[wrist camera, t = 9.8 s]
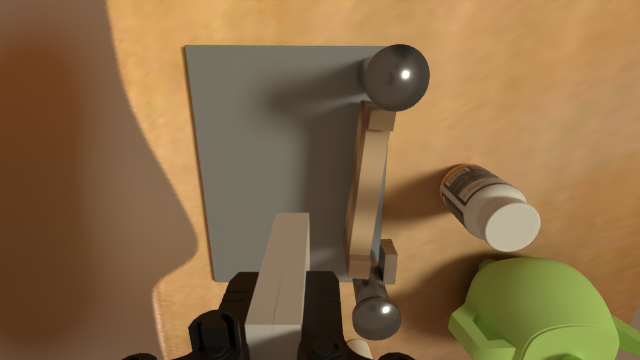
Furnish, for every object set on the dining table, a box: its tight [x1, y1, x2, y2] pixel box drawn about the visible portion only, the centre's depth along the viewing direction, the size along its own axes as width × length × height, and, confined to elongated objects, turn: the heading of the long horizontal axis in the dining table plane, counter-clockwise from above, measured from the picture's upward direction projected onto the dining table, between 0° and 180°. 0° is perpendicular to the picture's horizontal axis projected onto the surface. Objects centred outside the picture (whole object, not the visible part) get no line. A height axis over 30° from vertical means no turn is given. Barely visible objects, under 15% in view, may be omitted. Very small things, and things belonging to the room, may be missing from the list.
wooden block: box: [343, 100, 396, 279], centre depth 31 cm, size 16×2×6 cm, turn 175°
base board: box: [185, 45, 388, 282], centre depth 36 cm, size 27×20×1 cm
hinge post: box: [357, 44, 430, 112], centre depth 27 cm, size 4×4×11 cm
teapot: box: [447, 257, 640, 360], centre depth 36 cm, size 20×13×13 cm
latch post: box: [352, 239, 401, 340], centre depth 34 cm, size 6×5×11 cm
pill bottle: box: [440, 164, 540, 252], centre depth 32 cm, size 6×6×10 cm
